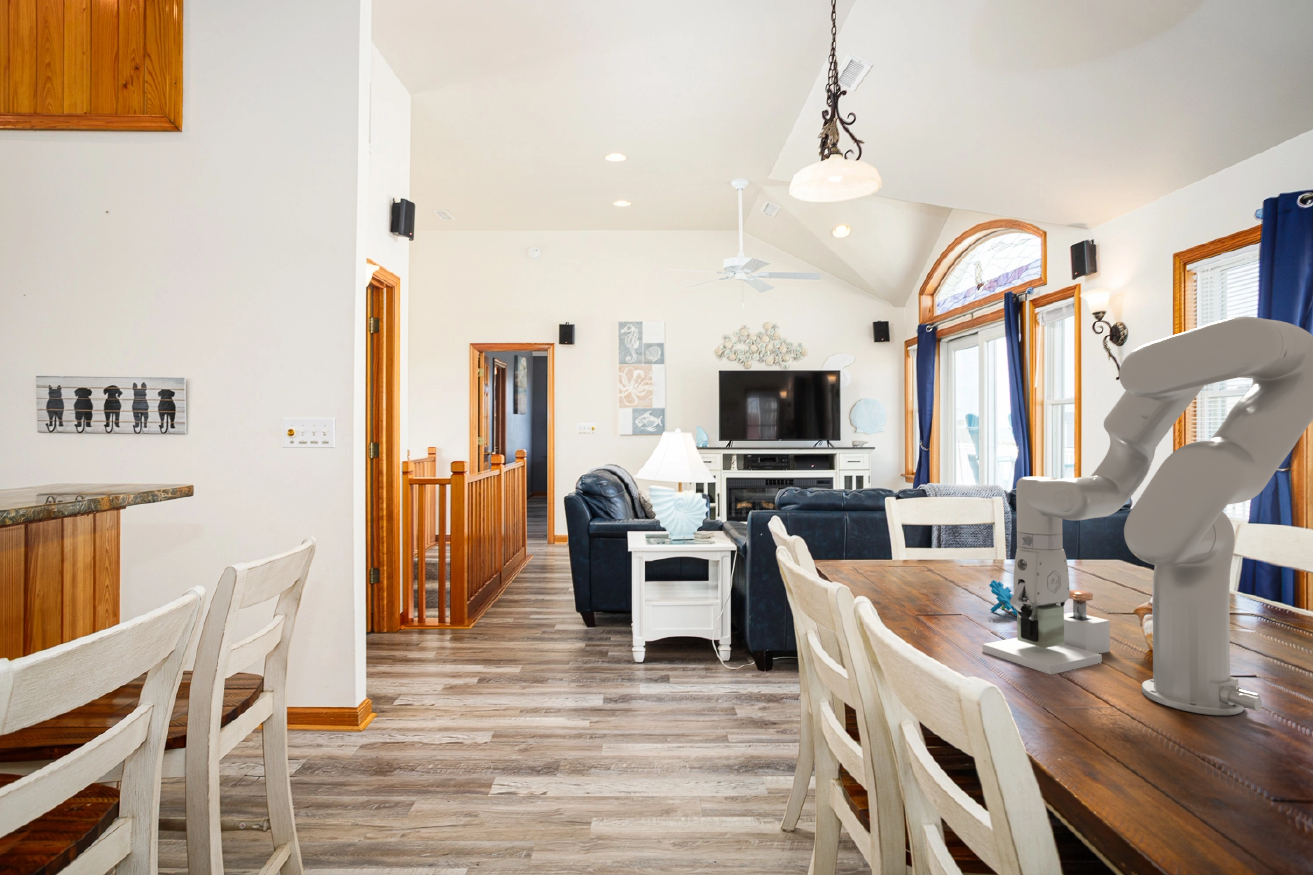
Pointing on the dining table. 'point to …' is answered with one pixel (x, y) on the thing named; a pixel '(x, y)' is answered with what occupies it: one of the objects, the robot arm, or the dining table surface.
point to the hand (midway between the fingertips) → (1040, 636)
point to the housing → (1046, 626)
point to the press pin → (1080, 603)
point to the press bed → (1059, 647)
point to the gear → (1002, 597)
